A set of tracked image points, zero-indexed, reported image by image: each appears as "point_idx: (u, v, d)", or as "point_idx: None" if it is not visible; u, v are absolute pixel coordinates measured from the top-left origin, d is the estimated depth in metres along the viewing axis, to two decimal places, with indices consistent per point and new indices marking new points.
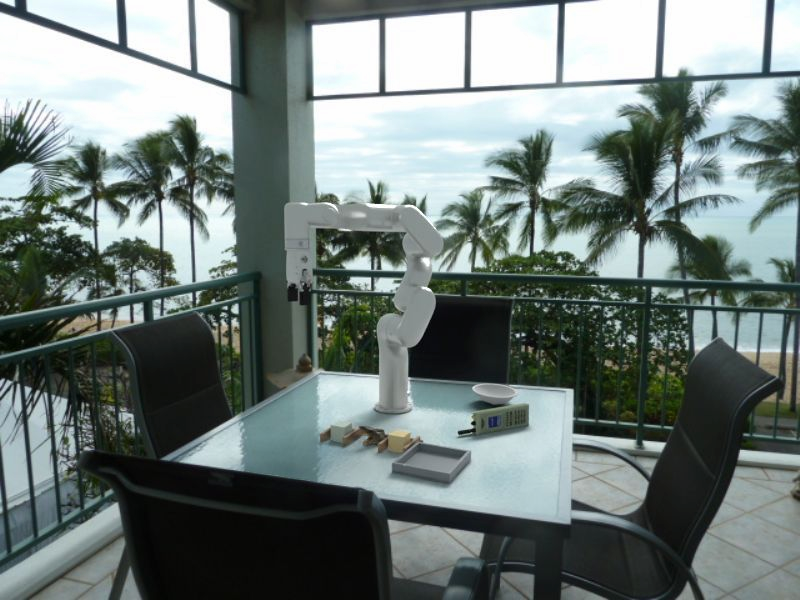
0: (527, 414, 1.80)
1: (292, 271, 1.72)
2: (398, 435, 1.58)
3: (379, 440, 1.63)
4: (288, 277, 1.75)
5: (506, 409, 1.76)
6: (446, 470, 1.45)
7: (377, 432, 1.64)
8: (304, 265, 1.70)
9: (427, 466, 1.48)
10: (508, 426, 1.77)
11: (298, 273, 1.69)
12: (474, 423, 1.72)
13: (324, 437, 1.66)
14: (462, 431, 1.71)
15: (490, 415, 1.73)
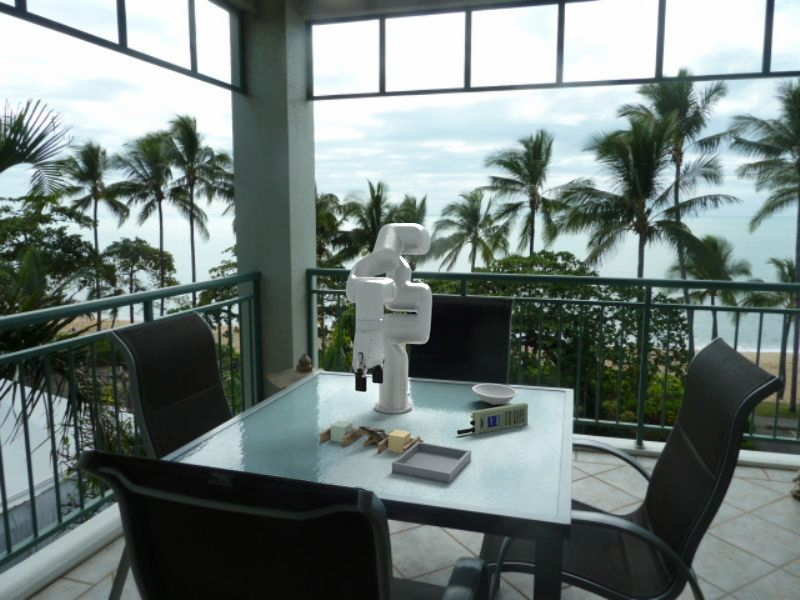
0: (526, 414, 1.81)
1: (380, 352, 1.61)
2: (398, 435, 1.58)
3: (380, 440, 1.63)
4: (372, 362, 1.58)
5: (505, 409, 1.77)
6: (446, 470, 1.45)
7: (377, 432, 1.64)
8: None
9: (427, 466, 1.48)
10: (507, 425, 1.77)
11: None
12: (474, 422, 1.73)
13: (324, 437, 1.66)
14: (461, 431, 1.71)
15: (489, 415, 1.74)
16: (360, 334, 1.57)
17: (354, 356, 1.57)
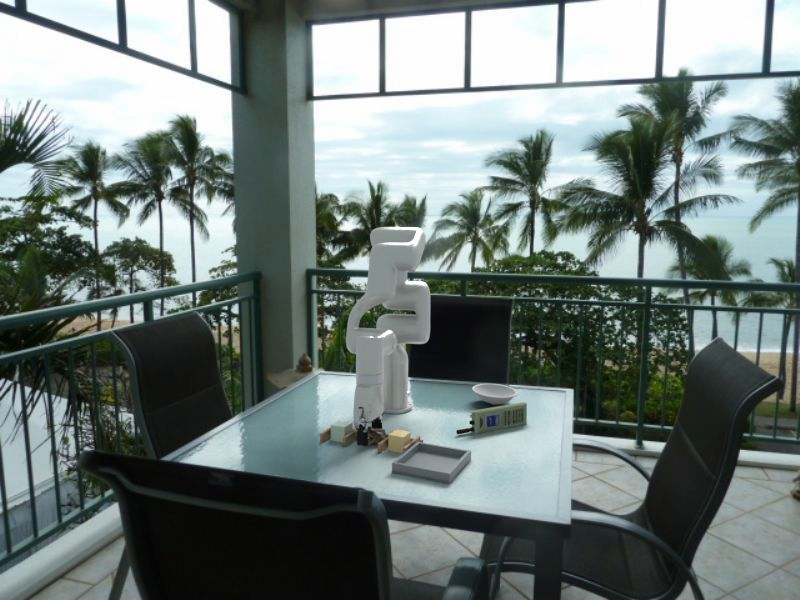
0: (525, 413, 1.81)
1: (380, 404, 1.64)
2: (398, 435, 1.58)
3: (380, 440, 1.63)
4: (372, 416, 1.60)
5: (504, 408, 1.77)
6: (446, 470, 1.45)
7: (378, 432, 1.63)
8: None
9: (427, 466, 1.48)
10: (506, 425, 1.78)
11: None
12: (473, 422, 1.73)
13: (324, 437, 1.66)
14: (461, 430, 1.71)
15: (488, 414, 1.74)
16: (360, 389, 1.58)
17: (354, 410, 1.59)
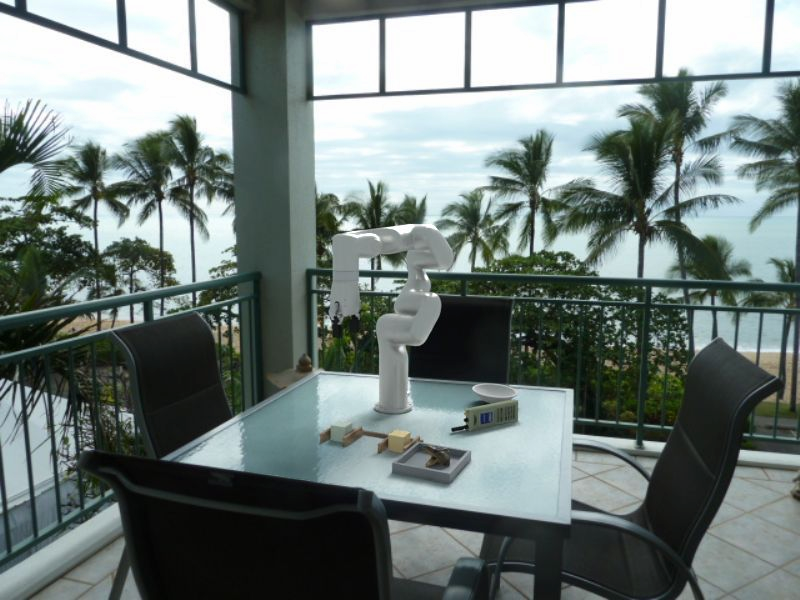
0: (516, 410, 1.84)
1: (355, 302, 1.72)
2: (398, 435, 1.58)
3: (444, 460, 1.47)
4: (348, 311, 1.69)
5: (497, 405, 1.80)
6: (446, 470, 1.45)
7: (441, 451, 1.48)
8: None
9: None
10: (499, 422, 1.81)
11: None
12: (467, 420, 1.75)
13: (324, 437, 1.66)
14: (455, 428, 1.73)
15: (482, 412, 1.77)
16: (336, 284, 1.67)
17: (331, 305, 1.68)
